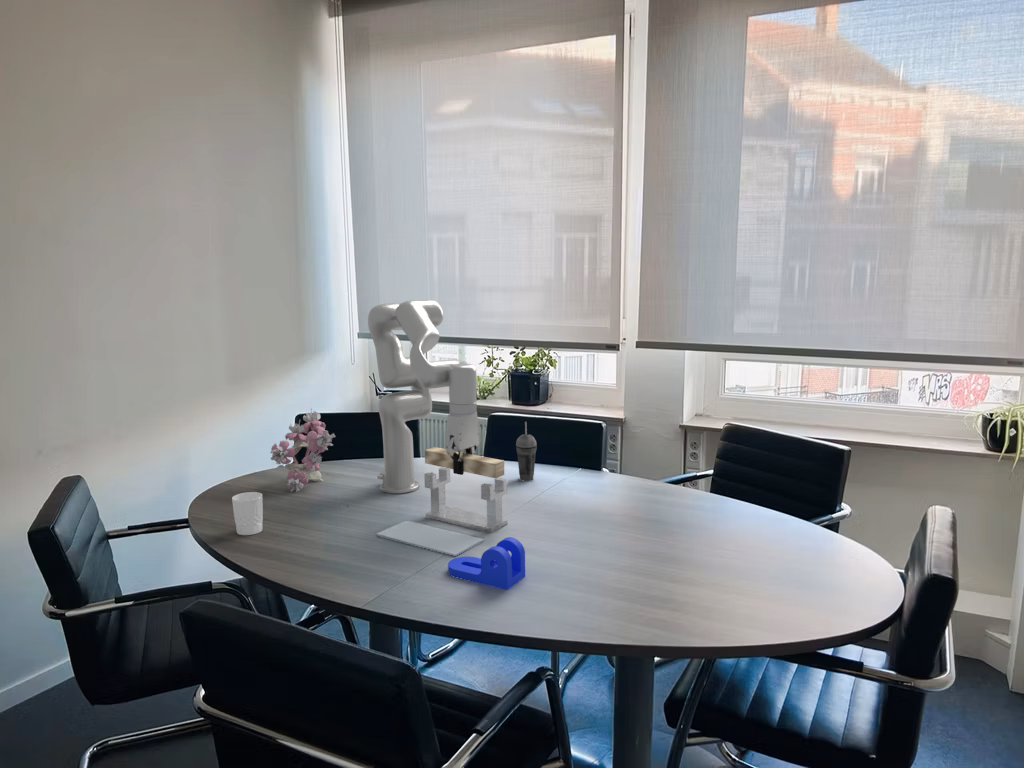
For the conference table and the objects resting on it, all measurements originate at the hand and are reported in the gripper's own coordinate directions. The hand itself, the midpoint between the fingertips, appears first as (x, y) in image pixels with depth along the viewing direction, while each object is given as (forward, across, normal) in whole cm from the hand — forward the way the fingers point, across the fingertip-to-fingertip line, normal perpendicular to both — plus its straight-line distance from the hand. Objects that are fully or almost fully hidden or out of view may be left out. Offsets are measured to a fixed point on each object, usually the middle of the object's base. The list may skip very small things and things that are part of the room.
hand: (463, 471), depth 205 cm
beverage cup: (+15, -43, -6) cm, 46 cm away
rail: (-1, 0, 0) cm, 1 cm away
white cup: (+15, +38, -45) cm, 61 cm away
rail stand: (+14, 0, +1) cm, 14 cm away
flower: (+16, +2, -65) cm, 67 cm away
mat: (+14, +16, +1) cm, 22 cm away
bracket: (+14, +27, +26) cm, 41 cm away
